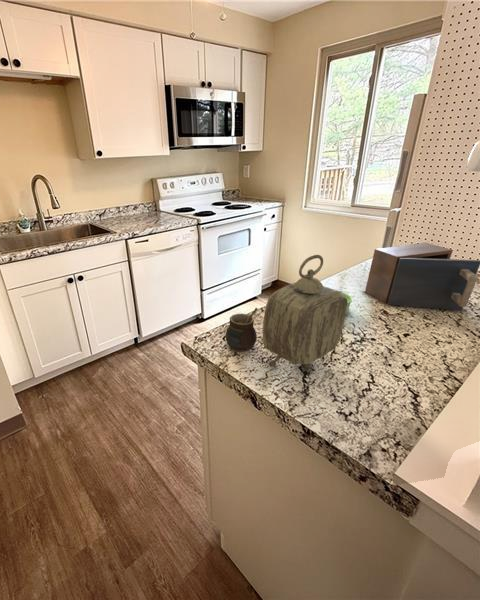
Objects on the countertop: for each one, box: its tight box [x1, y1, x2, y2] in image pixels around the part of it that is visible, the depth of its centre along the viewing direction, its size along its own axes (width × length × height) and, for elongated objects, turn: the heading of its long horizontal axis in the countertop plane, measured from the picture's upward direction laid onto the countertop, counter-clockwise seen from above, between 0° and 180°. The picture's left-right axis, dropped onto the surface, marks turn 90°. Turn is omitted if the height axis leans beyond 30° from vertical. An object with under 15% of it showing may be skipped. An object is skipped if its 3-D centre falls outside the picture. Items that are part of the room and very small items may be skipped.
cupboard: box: [364, 242, 454, 304], centre depth 90 cm, size 8×16×14 cm, turn 96°
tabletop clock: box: [262, 254, 347, 370], centre depth 63 cm, size 14×9×25 cm, turn 120°
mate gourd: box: [224, 307, 259, 353], centre depth 74 cm, size 7×8×10 cm
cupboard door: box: [386, 258, 480, 312], centre depth 80 cm, size 6×16×14 cm, turn 67°
